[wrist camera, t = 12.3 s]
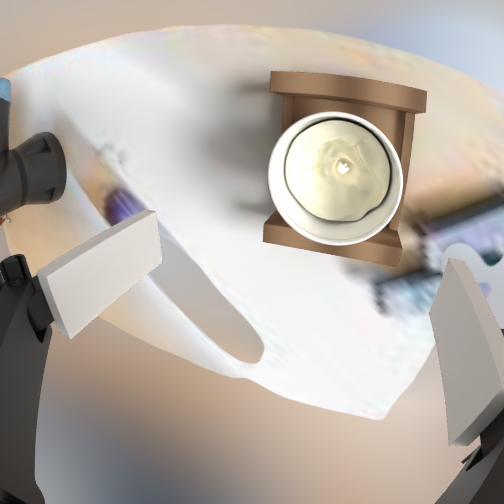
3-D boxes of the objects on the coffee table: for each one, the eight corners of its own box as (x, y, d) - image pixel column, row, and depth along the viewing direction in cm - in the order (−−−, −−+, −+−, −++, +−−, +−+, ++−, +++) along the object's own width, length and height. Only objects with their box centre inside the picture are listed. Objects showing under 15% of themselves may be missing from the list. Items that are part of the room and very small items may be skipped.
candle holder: (404, 169, 27) (428, 197, 17) (336, 219, 33) (324, 268, 22) (346, 97, 26) (340, 83, 16) (280, 153, 32) (241, 171, 21)
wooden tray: (280, 219, 36) (262, 241, 30) (288, 80, 28) (270, 71, 23) (391, 240, 32) (397, 267, 26) (412, 97, 24) (426, 91, 19)
